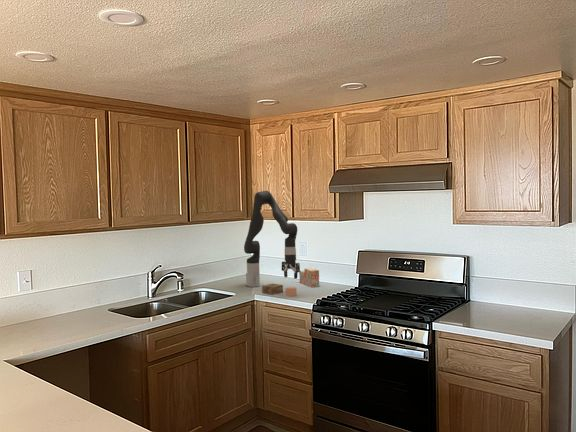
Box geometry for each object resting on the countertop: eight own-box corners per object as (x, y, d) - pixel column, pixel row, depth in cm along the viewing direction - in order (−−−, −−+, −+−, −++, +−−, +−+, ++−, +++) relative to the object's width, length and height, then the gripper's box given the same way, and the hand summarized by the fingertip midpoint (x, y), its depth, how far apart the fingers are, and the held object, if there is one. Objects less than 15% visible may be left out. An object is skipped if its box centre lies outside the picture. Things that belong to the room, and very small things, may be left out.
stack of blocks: (299, 282, 367) (299, 266, 367) (306, 282, 370) (306, 266, 369) (311, 287, 348) (311, 270, 347) (319, 287, 350) (319, 270, 350)
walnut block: (262, 292, 332) (262, 285, 332) (272, 290, 339) (272, 283, 339) (272, 294, 325) (272, 287, 325) (283, 292, 333) (282, 285, 332)
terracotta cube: (285, 295, 322) (285, 288, 322) (290, 294, 326) (290, 287, 326) (291, 296, 319) (291, 289, 319) (296, 295, 323) (296, 287, 322)
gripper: (278, 253, 323) (279, 277, 324) (294, 254, 313) (295, 279, 314) (286, 252, 329) (286, 276, 329) (302, 253, 319) (302, 278, 320)
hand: (290, 277), depth 322 cm, fingers open, 8 cm apart
